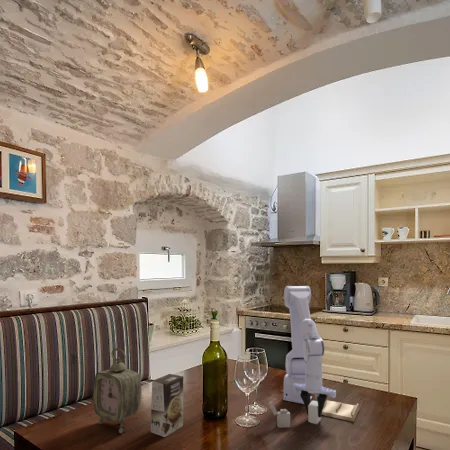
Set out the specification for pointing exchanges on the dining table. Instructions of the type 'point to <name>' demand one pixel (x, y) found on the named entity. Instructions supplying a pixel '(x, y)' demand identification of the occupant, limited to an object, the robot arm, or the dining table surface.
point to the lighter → (281, 416)
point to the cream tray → (339, 410)
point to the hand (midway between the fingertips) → (314, 415)
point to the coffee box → (167, 404)
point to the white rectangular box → (313, 412)
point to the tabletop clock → (117, 392)
